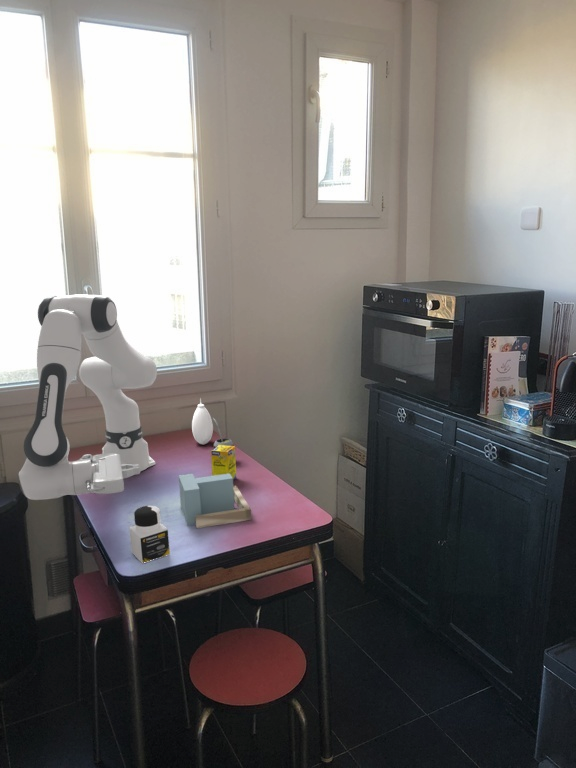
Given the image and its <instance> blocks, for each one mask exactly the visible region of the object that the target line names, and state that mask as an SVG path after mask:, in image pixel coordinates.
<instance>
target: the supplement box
mask: <svg viewBox="0 0 576 768" xmlns="http://www.w3.org/2000/svg"><path fill="white" fill-rule="evenodd" d="M210 455H211V456H210V457H211V458H210V459H211V472H212V475H211V476H215V475H222V474H229V473H230V475H231V476H232V478H233V481H235V480H236V479H237V464H236V463H237V461H236V446H235V445H234V446H226V445H218V446H217V447H216V448H214V449H211V450H210Z"/></svg>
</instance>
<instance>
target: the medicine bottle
mask: <svg viewBox="0 0 576 768" xmlns="http://www.w3.org/2000/svg"><path fill="white" fill-rule="evenodd" d="M133 515H134V525H130V526H129V537H130V538H129V539H130V549H131V550H130V551H131V554H132V553H133V554H134V555H135V556H134V555H133V554H132V555H133V556H134V557H135V558H137V560H139V562H141V563H142V562H143V563H144V562H147V561H150V560H153V559H156V558H159V559H161V558H160V557H162V558H164V557H163V556H165V557H167V556H166V555H168V556H170V554H171V553H170V540H169V529H168V528H167V527H166V526H164V524H162V523H161V511H160V508H158V507H157V506H155V505H145V506H141V507H139V508H137V509H135V511H134V512H133ZM156 560H157V559H156ZM153 561H154V560H153ZM150 562H151V561H150ZM143 563H142V564H143ZM147 563H148V562H147ZM144 564H145V563H144Z"/></svg>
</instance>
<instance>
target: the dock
mask: <svg viewBox="0 0 576 768" xmlns="http://www.w3.org/2000/svg"><path fill="white" fill-rule="evenodd" d="M233 491H234V503H235V504H236V506H237V507H238V508H237V509H236V508H234V509H235V510H229V511H222V512H216V513H210V514H203V515H197V516H195V520H196V524H195V528H196V529H203V528H208V527H212V526H213V527H215V526H220V525H226V524H232V523H239V522H245V521H251V520H252V509H251V507H250V506H249V504H248V502H247V501H246V499H245V498H244V496H243V494H242V493H241V491H240V489H239V488H238V486H237V485H233Z"/></svg>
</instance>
